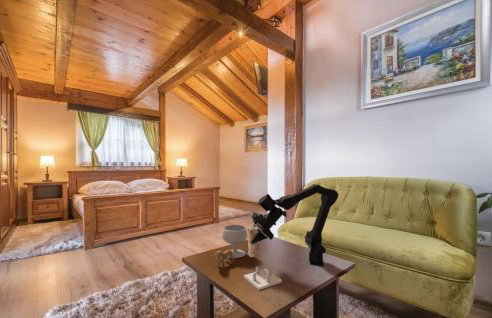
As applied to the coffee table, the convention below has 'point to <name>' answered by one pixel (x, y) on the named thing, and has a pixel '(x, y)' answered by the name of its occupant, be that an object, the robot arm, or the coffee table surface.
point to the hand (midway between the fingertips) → (250, 241)
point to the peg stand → (262, 278)
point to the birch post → (252, 248)
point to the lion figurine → (223, 257)
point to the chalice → (235, 238)
